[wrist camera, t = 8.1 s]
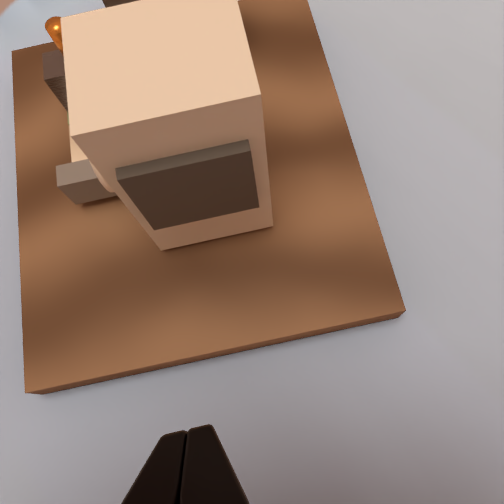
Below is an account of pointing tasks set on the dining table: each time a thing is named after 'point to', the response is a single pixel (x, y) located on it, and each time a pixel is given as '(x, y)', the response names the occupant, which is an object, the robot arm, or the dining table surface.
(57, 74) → the reading marker
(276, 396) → the dining table surface
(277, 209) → the gauge base
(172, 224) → the block
